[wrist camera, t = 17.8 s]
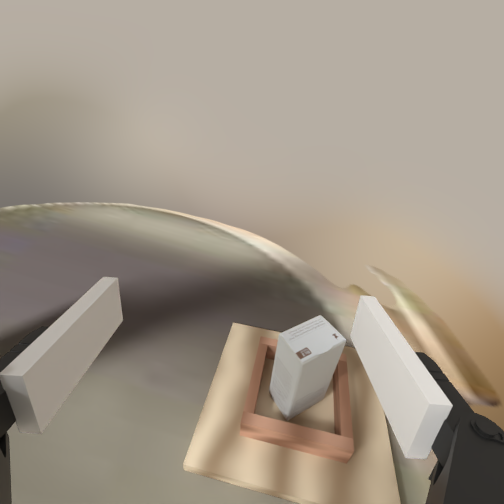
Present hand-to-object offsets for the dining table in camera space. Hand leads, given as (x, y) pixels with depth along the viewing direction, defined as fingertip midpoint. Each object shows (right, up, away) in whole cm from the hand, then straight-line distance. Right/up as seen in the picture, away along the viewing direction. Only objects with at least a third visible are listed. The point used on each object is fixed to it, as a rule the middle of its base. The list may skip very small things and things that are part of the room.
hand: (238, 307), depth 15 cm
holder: (+6, -17, +21) cm, 28 cm away
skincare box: (+6, -16, +21) cm, 27 cm away
